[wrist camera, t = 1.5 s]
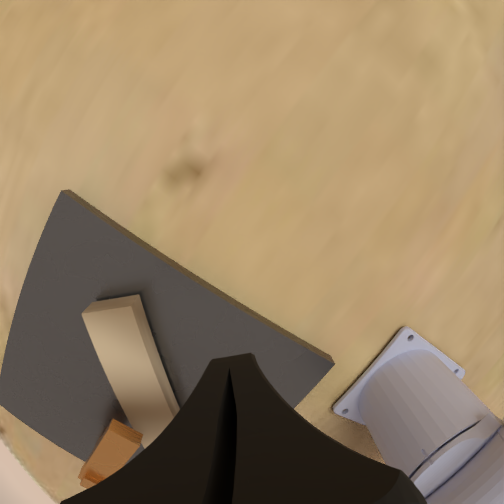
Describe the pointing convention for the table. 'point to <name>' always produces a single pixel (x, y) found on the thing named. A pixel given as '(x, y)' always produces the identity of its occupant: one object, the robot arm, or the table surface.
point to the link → (132, 363)
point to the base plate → (161, 325)
